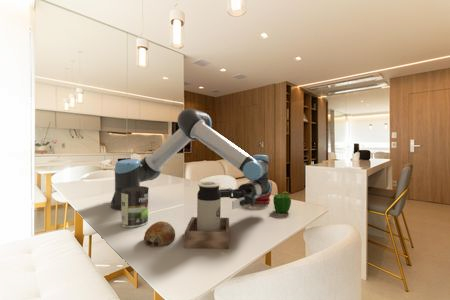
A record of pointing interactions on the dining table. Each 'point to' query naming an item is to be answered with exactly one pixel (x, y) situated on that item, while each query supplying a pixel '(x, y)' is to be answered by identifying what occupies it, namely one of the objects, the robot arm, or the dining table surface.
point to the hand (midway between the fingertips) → (217, 201)
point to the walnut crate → (207, 236)
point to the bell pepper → (282, 202)
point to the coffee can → (134, 206)
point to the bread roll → (159, 234)
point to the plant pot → (263, 197)
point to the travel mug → (208, 207)
